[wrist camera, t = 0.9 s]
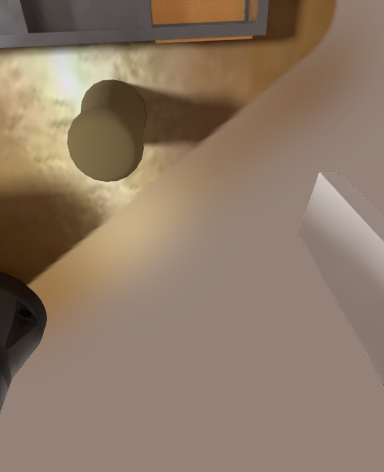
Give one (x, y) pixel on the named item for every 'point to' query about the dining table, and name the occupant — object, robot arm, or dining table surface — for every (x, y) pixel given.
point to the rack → (128, 21)
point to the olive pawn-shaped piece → (108, 131)
